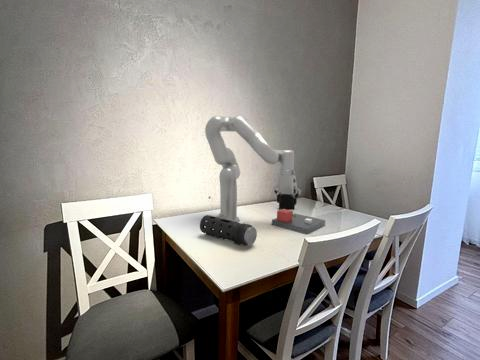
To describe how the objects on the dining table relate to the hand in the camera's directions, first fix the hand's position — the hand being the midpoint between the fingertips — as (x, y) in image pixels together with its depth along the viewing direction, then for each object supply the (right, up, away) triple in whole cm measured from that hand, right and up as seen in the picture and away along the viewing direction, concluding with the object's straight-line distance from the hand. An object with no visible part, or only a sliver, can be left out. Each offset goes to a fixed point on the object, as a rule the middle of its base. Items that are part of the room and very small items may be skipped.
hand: (286, 203), depth 161 cm
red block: (-1, -9, +2) cm, 9 cm away
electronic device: (+6, -7, +36) cm, 37 cm away
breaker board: (+7, -12, +2) cm, 14 cm away
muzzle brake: (-32, -16, -23) cm, 42 cm away
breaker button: (+11, -12, -2) cm, 17 cm away
